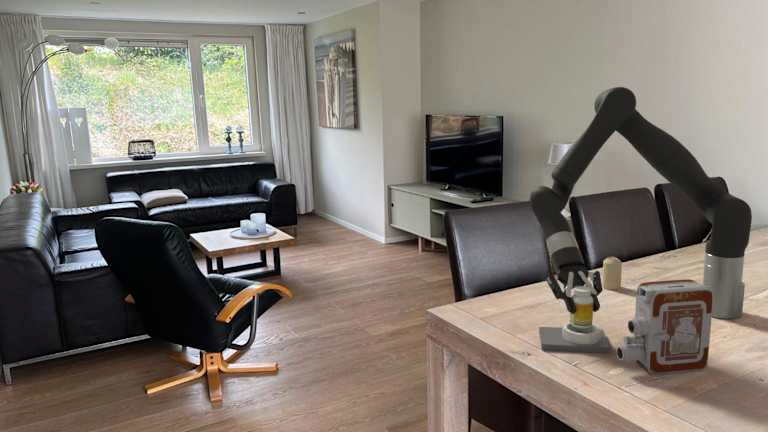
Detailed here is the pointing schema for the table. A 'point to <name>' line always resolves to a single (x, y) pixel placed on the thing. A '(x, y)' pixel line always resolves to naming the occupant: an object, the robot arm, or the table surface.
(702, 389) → the table surface
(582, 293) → the supplement bottle
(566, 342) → the mount plate
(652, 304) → the cine camera
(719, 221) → the robot arm
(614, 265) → the candle
